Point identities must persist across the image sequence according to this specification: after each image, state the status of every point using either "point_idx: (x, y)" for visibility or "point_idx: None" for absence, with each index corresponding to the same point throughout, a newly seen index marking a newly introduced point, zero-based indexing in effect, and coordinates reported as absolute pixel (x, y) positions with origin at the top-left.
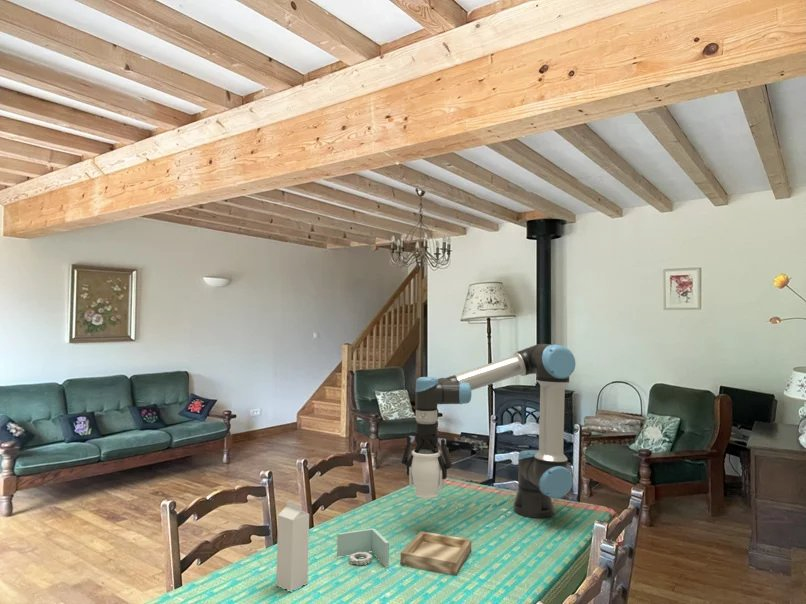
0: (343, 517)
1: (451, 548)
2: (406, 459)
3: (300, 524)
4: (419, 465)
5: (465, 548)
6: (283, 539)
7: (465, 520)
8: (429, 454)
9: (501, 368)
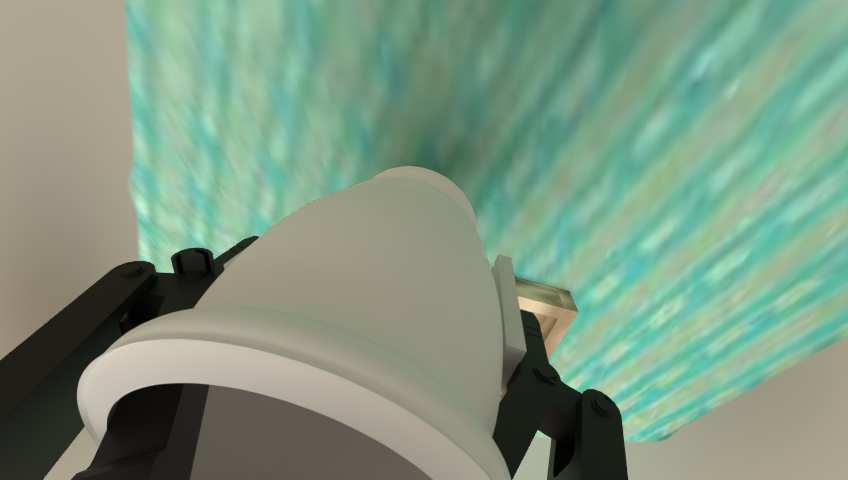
0: (139, 94)
1: None
2: (132, 295)
3: None
4: (320, 442)
5: (549, 358)
6: None
7: (608, 10)
8: None
9: None
